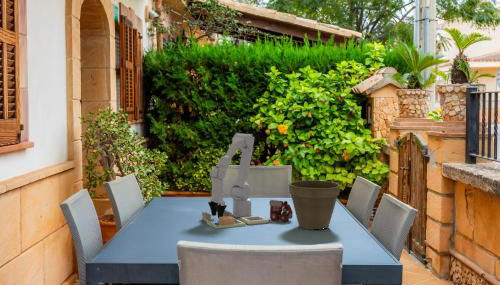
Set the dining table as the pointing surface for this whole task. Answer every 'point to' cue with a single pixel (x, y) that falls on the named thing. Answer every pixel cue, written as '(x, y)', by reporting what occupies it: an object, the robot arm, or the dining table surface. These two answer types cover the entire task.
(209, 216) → the channel walls
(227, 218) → the terracotta block
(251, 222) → the trap basin
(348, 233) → the dining table surface
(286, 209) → the toy fire truck
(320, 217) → the plant pot
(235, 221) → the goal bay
